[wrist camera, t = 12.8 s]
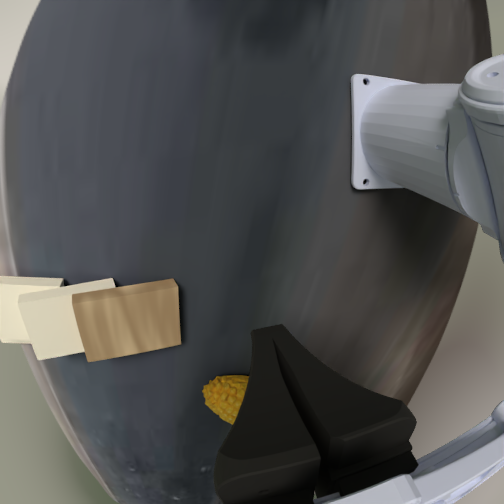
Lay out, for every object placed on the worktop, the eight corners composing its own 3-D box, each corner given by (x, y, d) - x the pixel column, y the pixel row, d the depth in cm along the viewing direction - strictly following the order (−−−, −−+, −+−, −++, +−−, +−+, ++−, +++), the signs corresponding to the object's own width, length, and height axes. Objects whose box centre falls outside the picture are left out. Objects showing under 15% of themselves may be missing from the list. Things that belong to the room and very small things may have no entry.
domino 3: (178, 286, 20) (72, 304, 17) (180, 344, 22) (88, 362, 19) (173, 278, 21) (71, 294, 18) (176, 334, 23) (86, 351, 20)
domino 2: (115, 286, 20) (17, 303, 16) (125, 343, 22) (38, 360, 18) (112, 277, 21) (19, 294, 17) (121, 333, 23) (38, 350, 19)
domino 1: (59, 286, 19) (-22, 282, 16) (70, 343, 20) (-6, 337, 18) (63, 278, 20) (-16, 275, 17) (72, 334, 21) (-2, 328, 19)
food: (382, 388, 32) (405, 424, 27) (353, 418, 34) (371, 454, 28) (212, 351, 25) (219, 406, 20) (188, 392, 27) (191, 444, 21)
